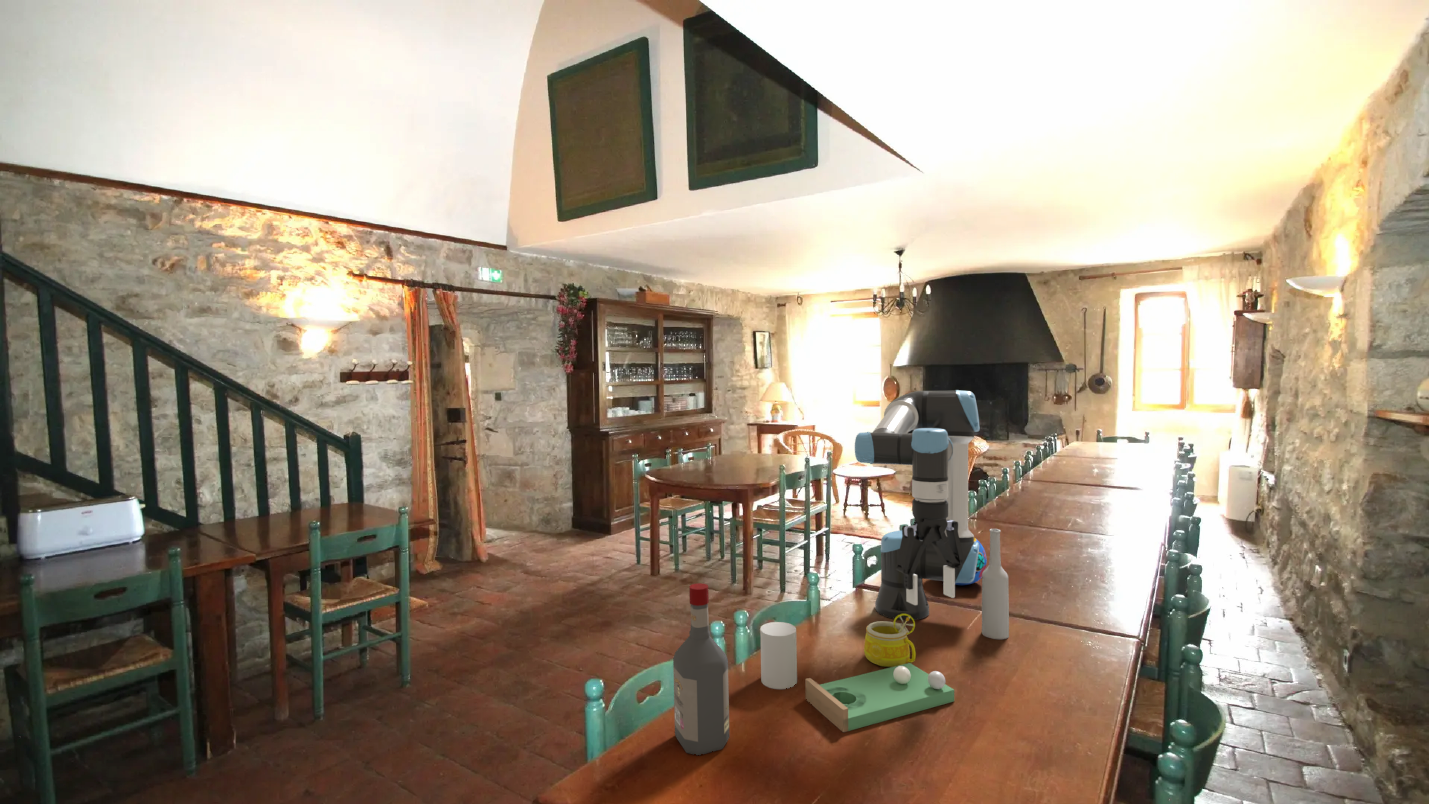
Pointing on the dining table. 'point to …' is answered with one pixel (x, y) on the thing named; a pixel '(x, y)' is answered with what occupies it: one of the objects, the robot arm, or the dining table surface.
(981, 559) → the blue painted round piece
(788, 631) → the cup
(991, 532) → the bottle
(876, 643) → the mug
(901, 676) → the ball
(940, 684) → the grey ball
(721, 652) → the liquor
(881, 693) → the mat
